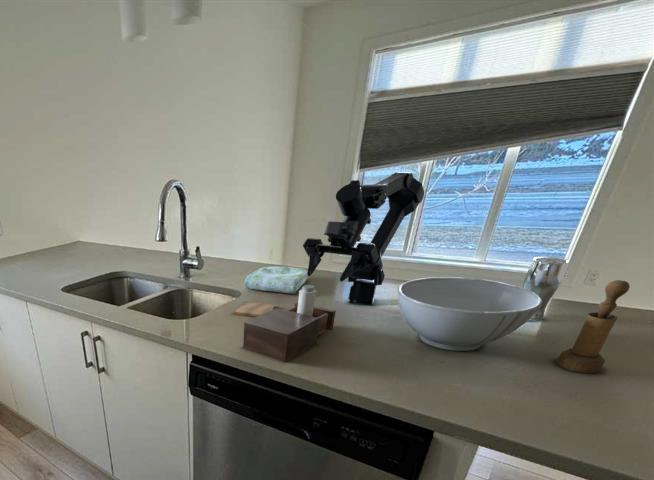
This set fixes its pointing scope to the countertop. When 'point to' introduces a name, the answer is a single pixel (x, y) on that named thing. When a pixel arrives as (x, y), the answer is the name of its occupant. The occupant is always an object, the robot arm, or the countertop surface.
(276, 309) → the cabinet
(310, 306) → the salt mill
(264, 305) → the cork mat
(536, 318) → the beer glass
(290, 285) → the towel
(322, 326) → the drawer
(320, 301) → the countertop surface
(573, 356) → the mortar and pestle
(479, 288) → the decorative bowl
